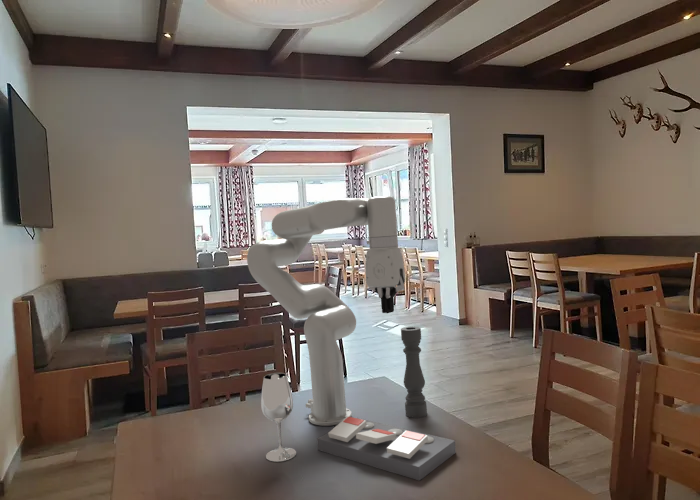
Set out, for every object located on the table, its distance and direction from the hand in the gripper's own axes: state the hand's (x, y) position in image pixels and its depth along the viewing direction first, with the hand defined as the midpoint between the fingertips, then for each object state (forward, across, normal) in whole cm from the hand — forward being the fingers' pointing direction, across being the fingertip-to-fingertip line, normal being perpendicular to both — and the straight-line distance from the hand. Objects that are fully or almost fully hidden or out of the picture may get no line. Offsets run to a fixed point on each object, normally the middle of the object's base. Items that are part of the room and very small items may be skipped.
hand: (388, 312), depth 140 cm
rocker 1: (+27, -4, -15) cm, 31 cm away
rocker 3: (+27, +14, -15) cm, 34 cm away
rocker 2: (+27, +5, -15) cm, 31 cm away
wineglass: (+32, -16, -27) cm, 45 cm away
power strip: (+32, +3, -12) cm, 34 cm away
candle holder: (+32, -2, +13) cm, 35 cm away
